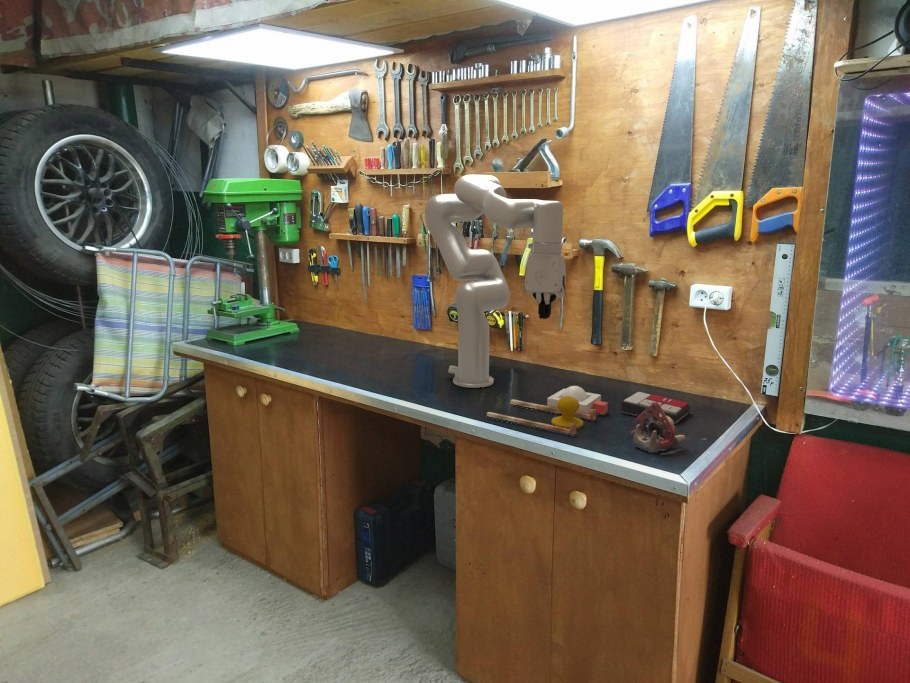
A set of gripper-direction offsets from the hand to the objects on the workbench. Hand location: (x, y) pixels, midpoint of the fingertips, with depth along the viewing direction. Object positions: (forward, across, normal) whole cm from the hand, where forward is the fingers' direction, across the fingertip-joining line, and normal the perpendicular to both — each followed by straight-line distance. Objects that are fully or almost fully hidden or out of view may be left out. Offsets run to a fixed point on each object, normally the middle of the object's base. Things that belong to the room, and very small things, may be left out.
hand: (544, 317), depth 179 cm
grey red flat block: (+26, +28, +13) cm, 40 cm away
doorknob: (+25, +12, -9) cm, 29 cm away
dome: (+25, +8, +4) cm, 27 cm away
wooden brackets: (+25, +4, -9) cm, 27 cm away
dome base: (+25, +10, +4) cm, 27 cm away
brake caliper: (+25, +35, -11) cm, 45 cm away
